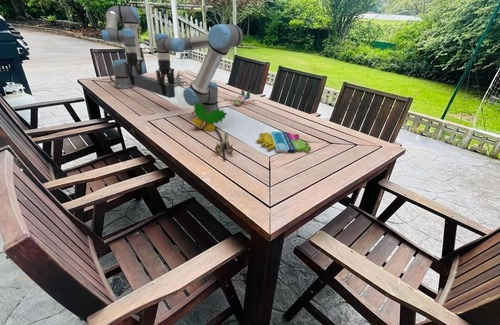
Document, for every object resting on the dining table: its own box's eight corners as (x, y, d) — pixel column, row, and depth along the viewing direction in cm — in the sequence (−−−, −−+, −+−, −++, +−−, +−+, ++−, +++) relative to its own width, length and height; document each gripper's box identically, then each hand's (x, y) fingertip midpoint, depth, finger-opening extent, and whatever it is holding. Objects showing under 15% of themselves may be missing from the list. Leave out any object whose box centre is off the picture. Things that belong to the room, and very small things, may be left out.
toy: (261, 91, 228) (254, 99, 202) (261, 99, 231) (253, 108, 205) (231, 87, 233) (220, 95, 207) (230, 95, 236) (219, 104, 210)
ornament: (218, 133, 171) (224, 110, 169) (221, 134, 163) (227, 111, 161) (186, 125, 162) (192, 101, 160) (189, 126, 155) (195, 101, 153)
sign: (313, 150, 142) (258, 149, 139) (312, 153, 143) (258, 152, 140) (301, 132, 164) (254, 130, 161) (301, 134, 165) (254, 133, 162)
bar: (175, 96, 182) (174, 84, 178) (169, 98, 178) (168, 85, 174) (134, 83, 209) (133, 72, 205) (129, 84, 206) (127, 73, 202)
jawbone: (234, 135, 144) (233, 125, 135) (233, 160, 138) (232, 151, 129) (217, 135, 144) (216, 125, 135) (216, 160, 138) (214, 150, 129)
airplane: (153, 81, 261) (151, 71, 256) (184, 80, 275) (183, 70, 270) (160, 92, 233) (159, 80, 228) (195, 89, 246) (194, 78, 241)
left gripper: (139, 51, 200) (143, 81, 212) (116, 52, 188) (122, 85, 200) (144, 52, 196) (148, 83, 208) (122, 53, 184) (127, 87, 196)
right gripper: (171, 57, 180) (173, 91, 191) (148, 59, 167) (153, 96, 178) (178, 59, 176) (180, 93, 187) (156, 61, 163) (160, 98, 174)
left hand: (136, 84), depth 204 cm, fingers closed on bar, 4 cm apart
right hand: (167, 94), depth 183 cm, fingers closed on bar, 5 cm apart
